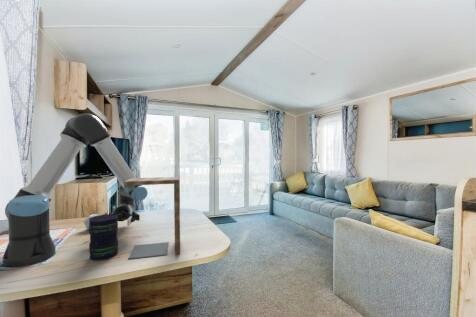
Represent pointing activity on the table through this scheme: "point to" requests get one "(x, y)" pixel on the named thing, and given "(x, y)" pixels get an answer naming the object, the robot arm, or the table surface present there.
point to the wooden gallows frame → (131, 183)
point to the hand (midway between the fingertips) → (111, 224)
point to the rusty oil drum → (103, 237)
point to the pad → (149, 250)
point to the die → (88, 220)
